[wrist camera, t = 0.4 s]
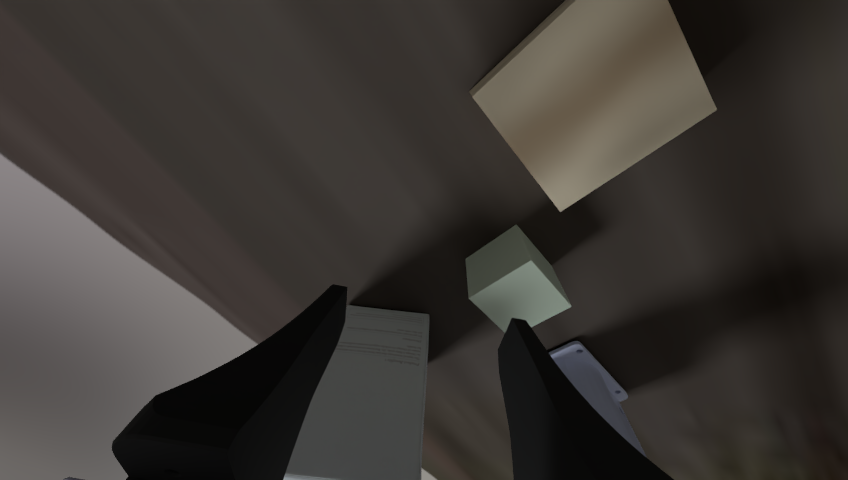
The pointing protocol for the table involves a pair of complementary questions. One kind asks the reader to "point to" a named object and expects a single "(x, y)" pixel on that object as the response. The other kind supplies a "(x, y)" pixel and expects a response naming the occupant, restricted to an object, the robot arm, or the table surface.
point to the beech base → (594, 93)
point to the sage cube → (514, 281)
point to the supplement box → (368, 402)
